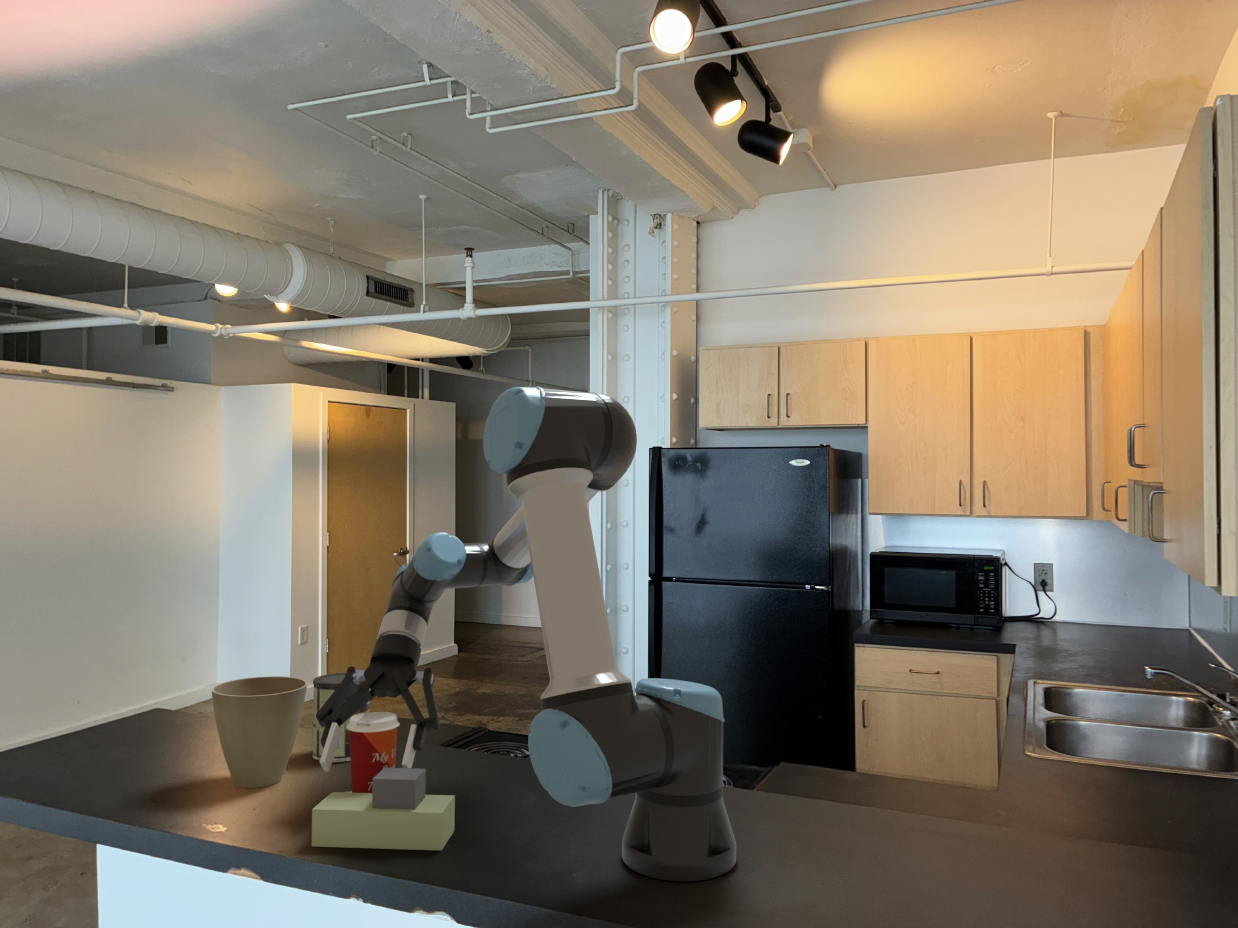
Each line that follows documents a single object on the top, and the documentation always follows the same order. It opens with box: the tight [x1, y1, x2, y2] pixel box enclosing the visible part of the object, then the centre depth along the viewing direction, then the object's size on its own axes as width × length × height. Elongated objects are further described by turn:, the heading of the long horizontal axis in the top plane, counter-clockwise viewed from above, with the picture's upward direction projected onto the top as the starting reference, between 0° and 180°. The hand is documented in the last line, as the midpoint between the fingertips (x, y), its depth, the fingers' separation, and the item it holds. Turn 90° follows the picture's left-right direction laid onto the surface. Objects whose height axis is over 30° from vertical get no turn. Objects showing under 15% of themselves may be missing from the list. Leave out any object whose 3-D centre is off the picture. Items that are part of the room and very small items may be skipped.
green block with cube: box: [311, 767, 456, 851], centre depth 129 cm, size 20×17×9 cm
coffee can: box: [312, 672, 371, 763], centre depth 163 cm, size 10×10×14 cm
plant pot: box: [211, 675, 308, 789], centre depth 148 cm, size 15×15×16 cm
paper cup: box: [347, 711, 401, 793], centre depth 133 cm, size 8×8×14 cm
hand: (365, 768), depth 130 cm, fingers open, 11 cm apart
